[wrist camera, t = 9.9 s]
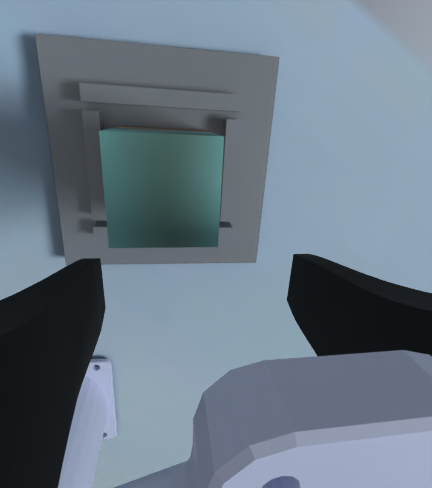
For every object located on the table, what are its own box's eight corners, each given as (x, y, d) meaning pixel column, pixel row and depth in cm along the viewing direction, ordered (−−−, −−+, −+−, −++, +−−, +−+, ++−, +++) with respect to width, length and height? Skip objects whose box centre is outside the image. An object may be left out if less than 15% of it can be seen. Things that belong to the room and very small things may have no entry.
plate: (70, 258, 20) (60, 272, 18) (42, 38, 16) (26, 28, 14) (252, 256, 22) (260, 269, 20) (273, 60, 17) (286, 53, 16)
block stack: (127, 206, 18) (108, 248, 12) (122, 125, 17) (98, 130, 11) (202, 206, 19) (217, 247, 13) (204, 130, 17) (224, 136, 11)
